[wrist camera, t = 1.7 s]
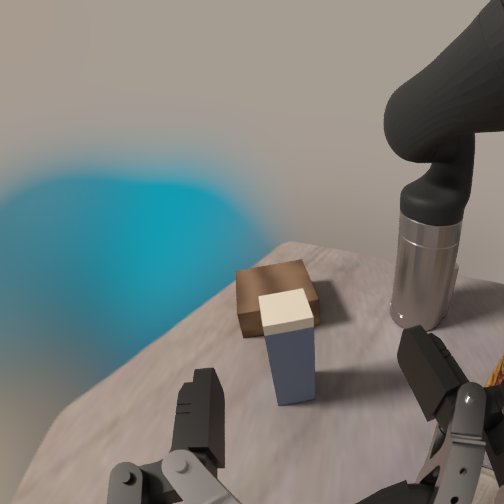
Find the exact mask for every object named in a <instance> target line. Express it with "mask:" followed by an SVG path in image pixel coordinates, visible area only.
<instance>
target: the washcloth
mask: <svg viewBox="0 0 504 504" xmlns="http://www.w3.org/2000/svg"><path fill="white" fill-rule="evenodd" d="M498 490H499V486H498V483H497V480H496V477H495V474H494V471H493V470H490V469H487V468H484V467H482V469H481V473H480V477H479V481H478V485H477V488H476V492H475V495H474V499H473V502H472V504H494V499H495V497H496V495H497V492H498Z"/></svg>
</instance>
